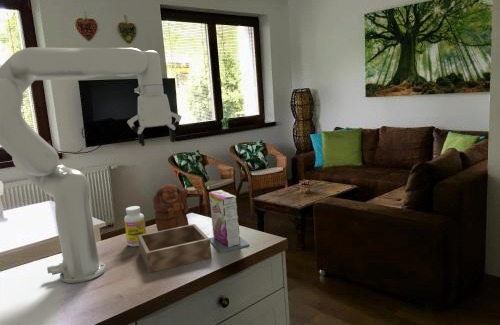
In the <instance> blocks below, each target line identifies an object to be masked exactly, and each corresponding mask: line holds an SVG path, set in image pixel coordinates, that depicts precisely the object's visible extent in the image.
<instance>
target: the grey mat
mask: <svg viewBox="0 0 500 325" xmlns="http://www.w3.org/2000/svg"><path fill="white" fill-rule="evenodd" d="M208 238H209V239H210V245H212V246H213V247H214V248H215V249H216V250H217V251H218V252H219V253H220V254H221V253H222V254H223V253H225V252H230V251H234V250H238V249H239V250H240V249H242V248H246V247H250V243H249V242H248V241H246V240H245V239H244V238H242V237H241V236H240V244H239V245H236V246H233V247H229V248H228V247H226V246H225V245H224V244H222V243H221V242H219V241H218V240H216V239H215V238H214V236H212V237H208Z"/></svg>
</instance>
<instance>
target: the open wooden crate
mask: <svg viewBox="0 0 500 325" xmlns="http://www.w3.org/2000/svg"><path fill="white" fill-rule="evenodd" d="M209 238H210V237H208V236H207V234H206V233H204V232H203V230H202V229H200V228H199V226H197V225H196V224H195V223H192V224H189V225H186V226H182V227H177V228H172V229H167V230H162V231H158V230H157V231H153V232H148V233H146V234H143V235H138V240H139V246H138V247H139V254H140V256H141V258H142V261H143V262H144V264H145V267H146V269H147V272H148V273H149V274H150V273H155V272H159V271H162V270H165V269H171V268H174V267H179V266H183V265H187V264H191V263H195V262H199V261H203V260H204V261H205V260H207V259H212V247H211V245H212V244H211V243H210V239H209Z"/></svg>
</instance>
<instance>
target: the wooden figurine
mask: <svg viewBox="0 0 500 325" xmlns="http://www.w3.org/2000/svg"><path fill="white" fill-rule="evenodd" d="M152 199H153V209H154V210H155V213H154V218H155V225H156V228H157V229H156V230H157V231H162V230H167V229H172V228H177V227H182V226H186V225H190V224H189V220H188V219H189V218H188V216H187V214H189V204H188V197H187V193H186V191H185V190H183V189H181V188H180V187H178V186H177V185H175V184H174V183H168V184H163V185H162V186H160V187H159V188H158V189H157V191H156V194H155V195H154V196H153V197H152Z"/></svg>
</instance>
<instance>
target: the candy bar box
mask: <svg viewBox="0 0 500 325" xmlns="http://www.w3.org/2000/svg"><path fill="white" fill-rule="evenodd" d="M208 194H209V195H208V197H209V205H210V214H211V222H212V223H211V226H212V233H213V234H212V235H213V237H214V238H215V239H216V240H218V241H219V242H221V243H222V244H224V245H225V246H226V247H228V248H229V247H233V246H236V245H239V244H240V237H241V234H240V225H239V224H240V223H239V215H238V214H239V213H238V203H237V202H238V201H237V196H236V195H234V194H231V193H229V192H227V191H225V190H222V189H219V190H213V191H210V192H208Z"/></svg>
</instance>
